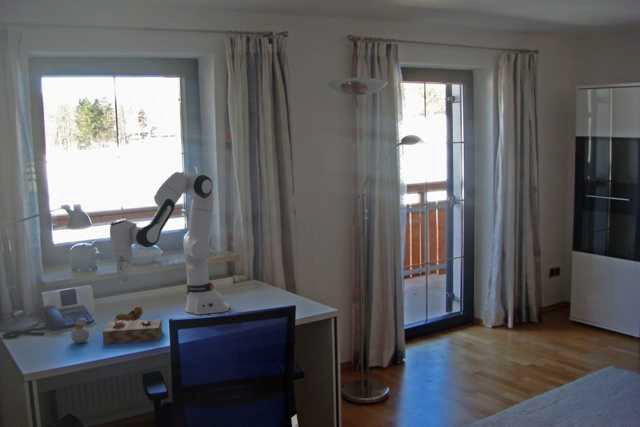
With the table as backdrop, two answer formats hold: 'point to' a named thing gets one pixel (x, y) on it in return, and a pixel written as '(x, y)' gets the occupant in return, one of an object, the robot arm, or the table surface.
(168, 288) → the table surface
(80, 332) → the perfume bottle
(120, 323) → the grey rounded cylinder
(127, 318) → the lion figurine
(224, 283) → the table surface
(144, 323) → the grey button
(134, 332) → the brown wooden block
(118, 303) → the table surface
